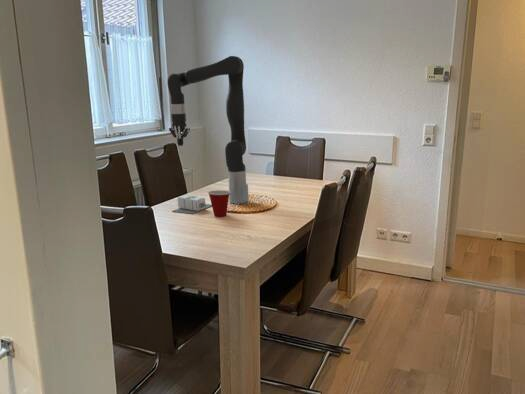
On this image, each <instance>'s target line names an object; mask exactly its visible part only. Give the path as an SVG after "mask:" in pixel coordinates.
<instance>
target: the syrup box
mask: <svg viewBox="0 0 525 394" xmlns="http://www.w3.org/2000/svg"><path fill="white" fill-rule="evenodd" d="M206 204H207V203H206V198H205V197H203V196H195V195H186V194H184V195H181V196H179V197H177V209H179V208H184V209H190V210H197V211H199V210H201V209H204V208H206ZM204 210H205V209H204ZM199 212H200V211H199Z"/></svg>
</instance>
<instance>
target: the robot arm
mask: <svg viewBox="0 0 525 394" xmlns="http://www.w3.org/2000/svg"><path fill="white" fill-rule="evenodd" d="M244 64H245V63H244V62H243V60H242V59H241V58H240V57H239V56H235V55H229V56H227V57H225V58H224V59H221V60H219V61H216V62H214V63H211V64H208V65H203V66H199V67H195V68H192V69H191V68H190V69H188V70H186V71H183V72H179V73H171V74H169V76H168V77H167V88H168V92H169V97H170V114H171V119H170V120H171V122H172V123H171V127H169V128H168V131H169V132H170V134H171V135H172V136H173V138H175V139H177V140H176V141H177V145H178V146H179V147H182V146H183V145H184V139H185V138H187V136H188V134H189V133H190V131H191V128H190V127H188V125H187V124H186V122H187V114H186V105H185V95H184V93H183V92H182V87H185V86H188V85H190V84H197V83H200V82H204V81H207V80H209V79H211V78H214V77H219V76H224V75H225V76H228V78H227V79H228V88H227V94H226V99H225V107H226V108H225V109H226V111H225V112H226V118H227V121H228V124H229V126H230V134H231V135H230V141H228V142H227V143H226V145H225V149H224V153H225V163H226V167H227V175H228V177H227V178H228V191H229V192H231V193H230V195H229V203H230V204H232V203H234V205H241V204H242V205H243V203H244V204H245V203H248V202H249V184H248V183H247V174H246V164H245V163H244V161H243V160H244V157H243V156H244V155H245V154H246V151H247V142H246V135H245V99H244V87H243V86H244V85H243V84H244V83H243V82H244V81H243V79H244V68H245V67H244V66H245V65H244ZM240 203H241V204H240Z"/></svg>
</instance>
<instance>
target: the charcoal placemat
mask: <svg viewBox="0 0 525 394" xmlns="http://www.w3.org/2000/svg"><path fill="white" fill-rule="evenodd" d="M209 208H212V204H210V203H209V204H208V203H206V208H204V209H201V210H199V211H197V210H190V209H184V208H177V209H173V210H172V213H179V214H180V213H181V214H188V215H194V214H197V213H199V212H202V211H204V210H207V209H209Z"/></svg>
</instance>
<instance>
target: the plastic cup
mask: <svg viewBox="0 0 525 394" xmlns="http://www.w3.org/2000/svg"><path fill="white" fill-rule="evenodd" d="M230 193H231V192H229V190H209V191H207V194H208V195H209V199H210V203H211V204H210V205H212V207H211V209H212V211H213V215H214V217H215V218H223V217H226V216H227V214H228V213H227V212H228V205H229V204H228V203H229V199H230Z"/></svg>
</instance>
